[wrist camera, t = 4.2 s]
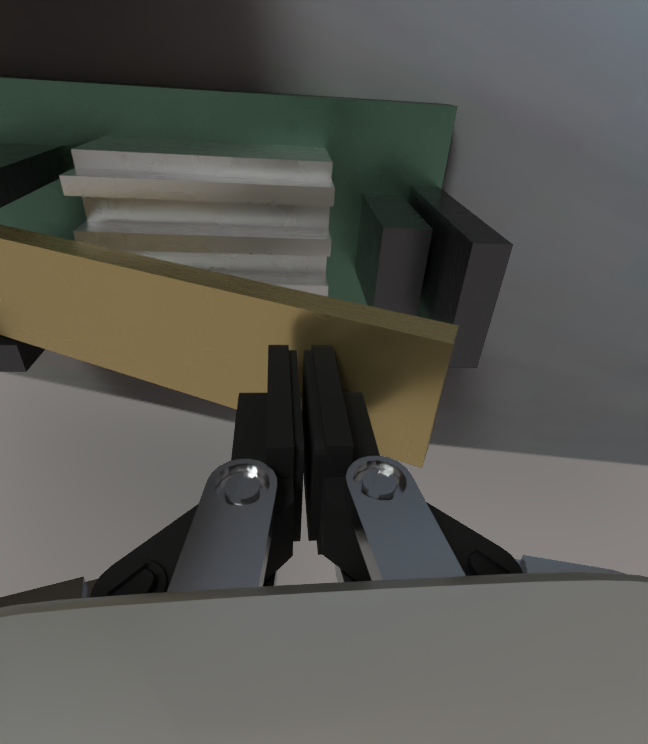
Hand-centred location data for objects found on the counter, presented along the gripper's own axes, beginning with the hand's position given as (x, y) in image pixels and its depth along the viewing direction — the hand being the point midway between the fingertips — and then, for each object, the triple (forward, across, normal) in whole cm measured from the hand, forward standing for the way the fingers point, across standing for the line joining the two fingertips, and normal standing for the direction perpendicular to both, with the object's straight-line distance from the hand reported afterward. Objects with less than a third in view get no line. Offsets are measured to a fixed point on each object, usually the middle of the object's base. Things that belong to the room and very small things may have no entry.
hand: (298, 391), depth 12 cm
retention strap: (+4, +4, 0) cm, 6 cm away
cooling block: (+15, +3, 0) cm, 16 cm away
